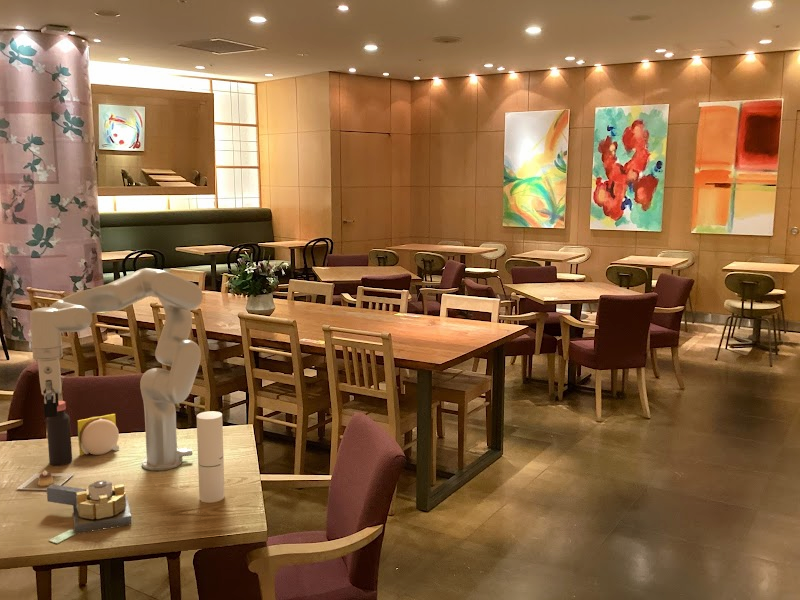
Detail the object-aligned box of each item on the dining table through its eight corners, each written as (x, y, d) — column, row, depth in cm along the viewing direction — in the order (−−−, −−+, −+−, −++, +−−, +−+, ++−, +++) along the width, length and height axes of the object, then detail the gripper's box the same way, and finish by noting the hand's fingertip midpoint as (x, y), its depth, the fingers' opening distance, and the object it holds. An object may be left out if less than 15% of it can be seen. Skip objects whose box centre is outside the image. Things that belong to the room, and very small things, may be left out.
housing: (127, 503, 213) (125, 469, 212) (132, 530, 198) (130, 494, 196) (48, 516, 205) (46, 480, 204) (48, 545, 189) (45, 507, 188)
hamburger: (84, 460, 245) (82, 425, 243) (77, 452, 251) (75, 418, 249) (122, 452, 252) (120, 418, 250) (114, 445, 259) (112, 412, 257)
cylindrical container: (229, 494, 221) (227, 412, 216) (215, 504, 214) (213, 420, 210) (208, 490, 223) (205, 410, 219) (194, 500, 216) (191, 417, 212)
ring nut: (134, 502, 208) (133, 483, 207) (106, 521, 197) (105, 501, 196) (65, 492, 214) (64, 473, 213) (34, 510, 203) (33, 490, 202)
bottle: (45, 462, 243) (41, 402, 240) (66, 456, 248) (63, 398, 245) (54, 467, 239) (50, 407, 235) (75, 462, 244) (72, 402, 240)
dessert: (36, 476, 233) (35, 461, 233) (74, 477, 233) (73, 462, 232) (15, 492, 222) (14, 477, 221) (55, 493, 221) (54, 477, 220)
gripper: (61, 358, 201) (65, 419, 204) (63, 344, 217) (67, 401, 220) (30, 360, 198) (35, 422, 201) (34, 346, 214) (38, 404, 217)
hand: (51, 411), depth 210 cm, fingers open, 9 cm apart
